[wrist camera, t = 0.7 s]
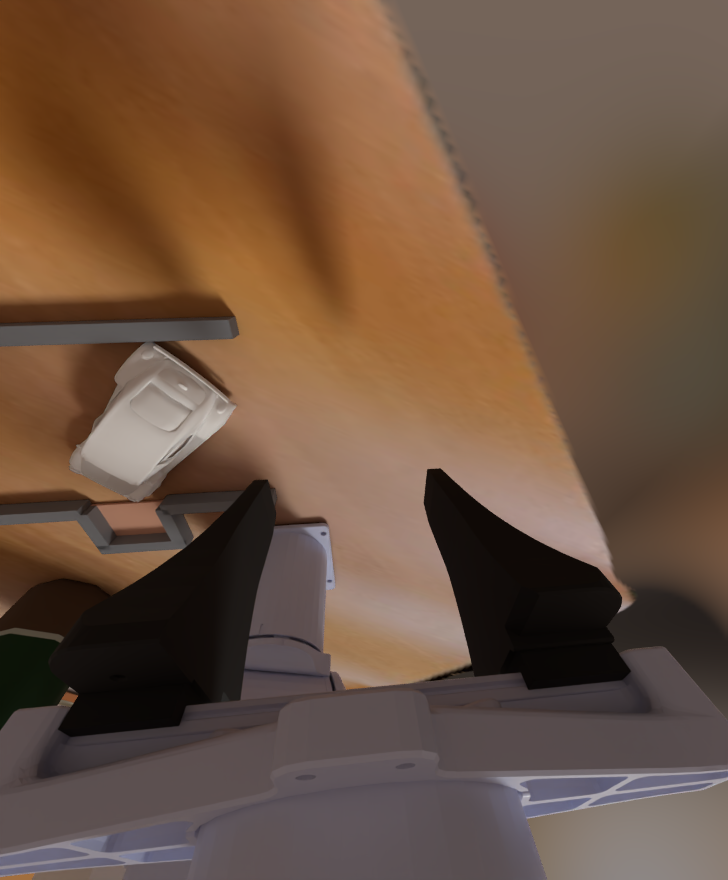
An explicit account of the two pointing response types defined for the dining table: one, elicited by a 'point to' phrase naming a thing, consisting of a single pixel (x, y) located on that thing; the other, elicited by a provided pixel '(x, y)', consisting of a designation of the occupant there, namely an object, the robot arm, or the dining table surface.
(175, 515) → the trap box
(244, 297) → the dining table surface
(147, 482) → the car
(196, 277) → the dining table surface
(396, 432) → the dining table surface
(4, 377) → the dining table surface
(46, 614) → the beer bottle
